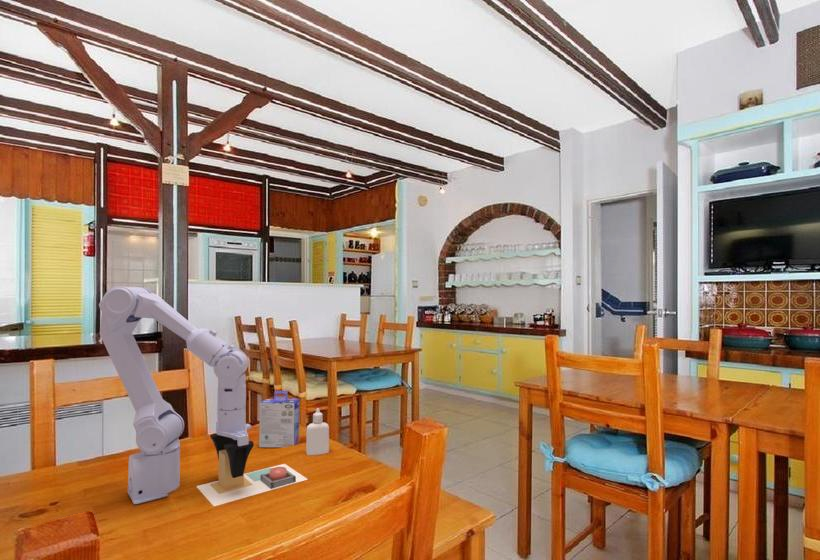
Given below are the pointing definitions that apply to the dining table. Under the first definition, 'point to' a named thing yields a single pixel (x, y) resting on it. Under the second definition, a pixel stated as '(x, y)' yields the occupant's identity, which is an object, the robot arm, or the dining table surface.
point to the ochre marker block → (227, 473)
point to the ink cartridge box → (279, 421)
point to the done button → (277, 473)
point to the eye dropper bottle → (317, 435)
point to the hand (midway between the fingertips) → (231, 471)
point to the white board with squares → (249, 486)
